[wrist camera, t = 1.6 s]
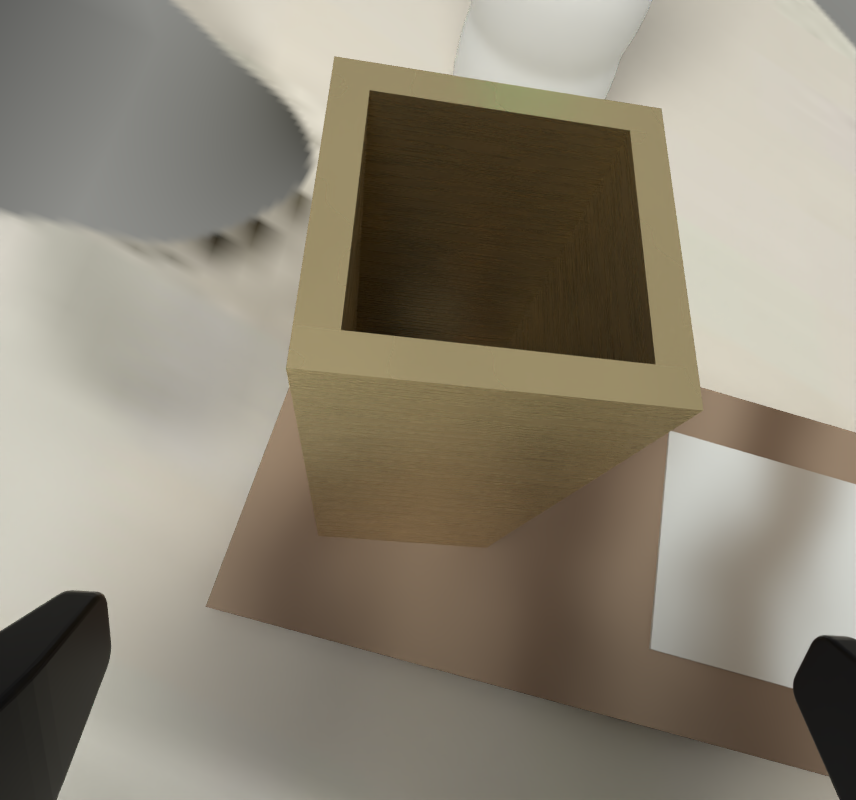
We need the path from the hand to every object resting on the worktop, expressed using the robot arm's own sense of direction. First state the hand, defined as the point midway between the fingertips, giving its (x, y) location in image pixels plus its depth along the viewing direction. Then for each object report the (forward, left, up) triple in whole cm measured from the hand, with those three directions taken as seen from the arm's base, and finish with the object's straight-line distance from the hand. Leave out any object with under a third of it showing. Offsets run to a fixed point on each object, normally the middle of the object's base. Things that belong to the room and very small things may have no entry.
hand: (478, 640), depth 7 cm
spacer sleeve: (+5, -3, -11) cm, 13 cm away
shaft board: (0, -8, -12) cm, 14 cm away
